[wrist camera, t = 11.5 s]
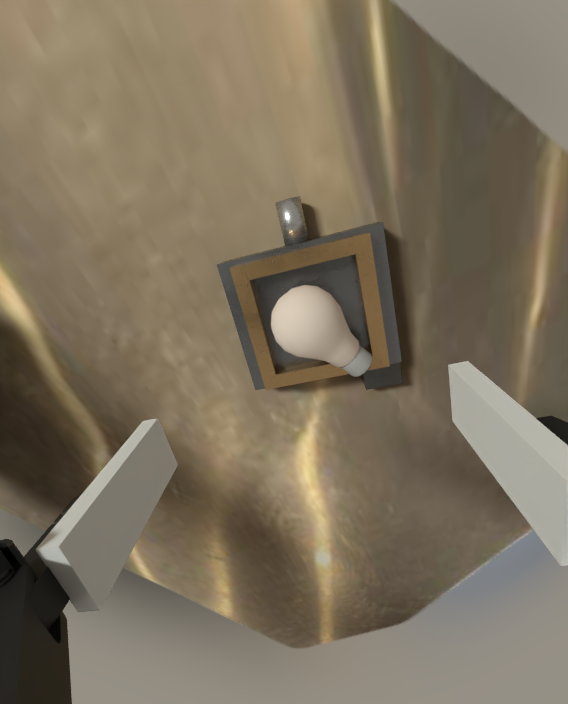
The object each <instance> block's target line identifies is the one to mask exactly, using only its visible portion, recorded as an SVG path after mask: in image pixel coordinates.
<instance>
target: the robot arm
mask: <svg viewBox="0 0 568 704" xmlns="http://www.w3.org/2000/svg"><path fill="white" fill-rule="evenodd" d="M448 367H449V380H450V393H451V407H452V420H453V422H454V424H455V425H456V426H457V428H458V429H459V430H460V432H461V433H462V434H463V436H464V437H465V438H466V440H467V441H468V442H469V444H470V445H471V446H472V448H473V449H474V450H475V452H476V453H477V454H478V456H479V457H480V458H481V460H482V461H483V462H484V464H485V465H486V466H487V468H488V469H489V470H490V472H491V473H492V474H493V476H494V477H495V478H496V480H497V481H498V483H499V484H500V485H501V487H502V488H503V489H504V491H505V492H506V493H507V495H508V496H509V497H510V499H511V500H512V501H513V503H514V504H515V505H516V507H517V508H518V509H519V511H520V512H521V513H522V515H523V516H524V517H525V519H526V520H527V521H528V523H529V524H530V525H531V527H532V528H533V529H534V531H535V532H536V533H537V535H538V536H539V537H540V539H541V540H542V541H543V543H544V544H545V545H546V547H547V548H548V550H549V551H550V552H551V553H552V555H553V556H554V558H555V559H556V560H557V561H558V563H559V564H560V566H568V423H567V422H565V421H563V420H560V419H558V418H555V417H553V416H547V417H540V418H535V417H533V416H532V415H531V414H530V413H529V412H528V411H526V410H525V409H524V408H523V407H522V406H520V405H519V404H518V403H517V402H516V401H514V400H513V399H512V398H511V397H510V396H509V395H507V394H506V393H505V392H504V391H503V390H501V389H500V388H499V387H498V386H497V385H495V384H494V383H493V382H492V381H491V380H490V379H488V378H487V377H486V376H485V375H484V374H482V373H481V372H480V371H479V370H478V369H476V368H475V367H474V366H473V365H472V364H471V363H469V362H468V361H466V362H461V363H455V364H450V365H448ZM177 466H178V464H177V462H176V459H175V457H174V455H173V452H172V450H171V448H170V445H169V443H168V441H167V438H166V436H165V434H164V431H163V429H162V427H161V424H160V422H159V420H158V418H157V419H151V420H146V421H143V422H142V423H141V424H140V425H139V426H138V428H137V429H136V430H135V431H134V432H133V434H132V435H131V436H130V437H129V438H128V440H127V441H126V442H125V443H124V444H123V446H122V447H121V448H120V449H119V450H118V452H117V453H116V454H115V455H114V456H113V458H112V459H111V460H110V461H109V462H108V463H107V465H106V466H105V467H104V468H103V469H102V471H101V472H100V473H99V474H98V475H97V477H96V478H95V479H94V480H93V481H92V483H91V484H90V485H89V486H88V487H87V489H85V490H84V491H83V492H82V493H81V494H79V495H78V496H77V497H76V498H74V499H73V500H72V501H71V502H70V503H69V505H68V506H67V507H66V508H65V509H64V511H63V512H62V514H60V515H59V516H58V518H57V519H56V520H55V521H54V524H52V525H51V526H50V527H49V528H48V529H47V530H46V532H45V533H44V534H43V535H42V536H41V538H40V539H39V540H38V541H37V542H36V543H35V544H34V546H33V547H32V548H31V549H30V550H29V552H28V553H27V554H26V555H25V556H24V557H23V556H22V554H21V553H20V551H19V550H18V548H17V547H16V546H15V544H14V543H13V541H12V540H9V539H4V540H0V704H72V701H71V700H72V699H71V683H70V665H69V648H68V631H67V619H66V617H65V615H64V613H63V612H62V611H63V609H64V607H65V605H66V604H67V603H68V601H69V600H70V601H71V603H72V604H73V605H74V607H75V608H76V610H77V611H78V612H85V611H96V610H100V609H101V607H102V605H103V603H104V602H105V600H106V598H107V596H108V594H109V592H110V590H111V589H112V587H113V585H114V583H115V581H116V579H117V577H118V575H119V574H120V572H121V570H122V568H123V566H124V564H125V563H126V561H127V559H128V557H129V555H130V553H131V551H132V550H133V548H134V546H135V544H136V542H137V540H138V538H139V537H140V535H141V533H142V531H143V529H144V527H145V525H146V523H147V522H148V520H149V518H150V516H151V514H152V512H153V510H154V509H155V507H156V505H157V503H158V501H159V499H160V497H161V496H162V494H163V492H164V490H165V488H166V486H167V484H168V483H169V481H170V479H171V477H172V475H173V473H174V471H175V470H176V468H177Z"/></svg>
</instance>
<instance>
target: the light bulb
mask: <svg viewBox="0 0 568 704" xmlns="http://www.w3.org/2000/svg"><path fill="white" fill-rule="evenodd" d="M271 328H272V332H273V334H274V337H275V340H276V342H277V343H278V344H279V345H280V346H281V347H282V348H283V349H284V351H286V352H288V353H290V354H293V355H295V356H297V357H304V358H311V359H318V360H322V361H326V362H328V363H330V364H332V365H334V366H335V367H341V368H343V369H344V370H345V371H346V372H348V373H349V374H350V375H352V376H354V377H358V376H361V375H362V374H364V373H366V372H367V371H368V370H369V368H370V365H371V363H372V355H371V354H370V353H369V352H368V351H366V350H365V349H364V348H363V347H361V346H360V345H359V341H358V340H357V339H356V338H355V337H354V335H353V334H352V333H351V332H350V330H349V327H348V325H347V323H346V320H345V318H344V315H343V312H342V309H341V307H340V305H339V304H338V303H337V302H336V300H335V299H334V298H333V296H332V295H331V294H330V293H329V292H327V291H325V290H323V289H321V288H320V287H318V286H310V285H302V286H299V287H295V288H292V289H291V290H289V291H288V292H287V293H285V294H284V295H283V296H282V297H281V298H280V299H278V301H277V303H276V305H275V307H274V309H273V310H272V316H271Z"/></svg>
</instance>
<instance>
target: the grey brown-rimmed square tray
mask: <svg viewBox="0 0 568 704" xmlns="http://www.w3.org/2000/svg"><path fill="white" fill-rule="evenodd" d="M275 204H276V209H277V213H278V217H279V221H280V226H281V230H282V234H283V238H284V243H285V246H283V247H280V248H276V249H272V250H268V251H264V252H260V253H256V254H252V255H248V256H245V257H241V258H237V259H233V260H229V261H225V262H222V263H220V264H218V265H217V267H218V270H219V273H220V276H221V280H222V283H223V286H224V289H225V293H226V296H227V299H228V302H229V306H230V309H231V312H232V315H233V318H234V322H235V325H236V328H237V331H238V335H239V338H240V341H241V344H242V348H243V351H244V354H245V357H246V361H247V364H248V367H249V370H250V374H251V377H252V380H253V383H254V387H255V390H258V389H264V388H265V389H266V390H268V389H273V388H278V387H284V386H289V385H294V384H299V383H305V382H310V381H315V380H320V379H326V378H331V377H336V376H341V375H347V374H349V373H348V372H346V371H345V370H344V369H343V368H341V367H335V366H334V365H332V364H330V363H328V362H326V361H322V360H318V359H311V358H304V357H297V356H295V355H293V354H290V353H288V352H286V351H284V349H283V348H282V347H281V346H280V345H279V344H278V343H277V342H276V340H275V337H274V334H273V332H272V328H271V316H272V310H273V309H274V307H275V305H276V303H277V301H278V299H280V298H281V297H282V296H283V295H284V294H285V293H287V292H288V291H289V290H291V289H292V288H295V287H299V286H302V285H310V286H318V287H320V288H321V289H323V290H325V291H327V292H329V293H330V294H331V295H332V296H333V298H334V299H335V300H336V302H337V303H338V304H339V305H340V307H341V309H342V312H343V315H344V318H345V320H346V323H347V325H348V327H349V330H350V332H351V333H352V334H353V335H354V337H355V338H356V339H357V340H358V341H359V345H360V346H361V347H363V348H364V349H365V350H366V351H368V352H369V353H370V354H371V355H372V363H371V365H370V368H369V370H368V371H367V372H366V373H364V374H362V376H363V382H364V385H365V387H366V390H367V389H373V388H378V387H384V386H389V385H395V384H400V383H403V381H402V374H401V367H400V362H402V360H401V352H400V345H399V337H398V330H397V322H396V315H395V308H394V300H393V293H392V285H391V278H390V270H389V263H388V255H387V248H386V241H385V233H384V226H383V222H378V223H373V224H369V225H365V226H361V227H357V228H353V229H350V230H346V231H342V232H338V233H334V234H330V235H326V236H322V237H318V238H315V239H311V240H309V237H308V232H307V227H306V223H305V218H304V213H303V208H302V203H301V199H300V197H294V198H290V199H286V200H283V201H280V202H277V203H275Z"/></svg>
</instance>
